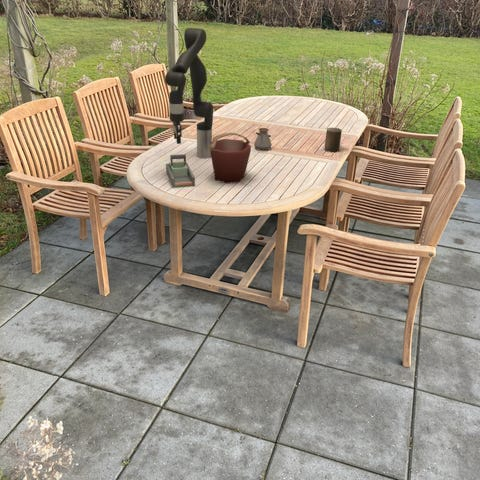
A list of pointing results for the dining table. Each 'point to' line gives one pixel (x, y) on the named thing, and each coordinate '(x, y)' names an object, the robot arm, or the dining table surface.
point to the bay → (181, 178)
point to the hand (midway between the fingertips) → (177, 141)
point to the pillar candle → (333, 139)
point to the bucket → (229, 158)
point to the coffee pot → (262, 140)
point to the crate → (178, 166)
